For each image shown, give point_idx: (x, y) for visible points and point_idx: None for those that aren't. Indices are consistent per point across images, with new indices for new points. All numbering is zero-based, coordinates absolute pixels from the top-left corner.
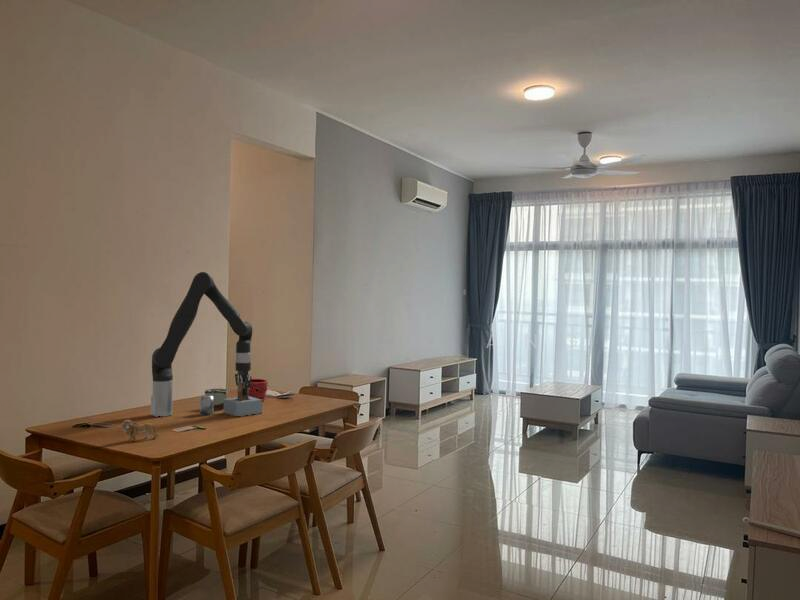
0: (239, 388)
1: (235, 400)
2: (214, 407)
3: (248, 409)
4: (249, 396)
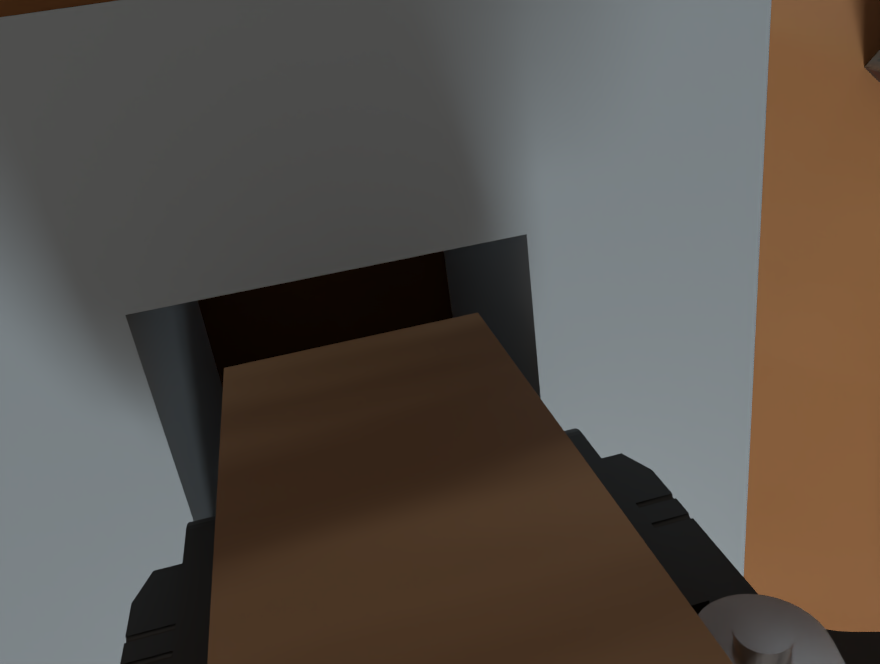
0: (433, 598)
1: (274, 193)
2: None
3: None
4: None
